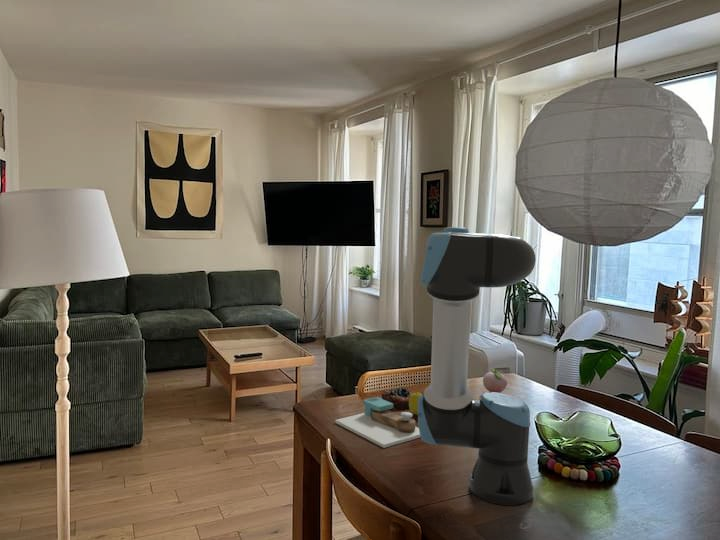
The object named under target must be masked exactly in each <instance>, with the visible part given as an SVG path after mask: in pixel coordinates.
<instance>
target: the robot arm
mask: <svg viewBox="0 0 720 540" xmlns="http://www.w3.org/2000/svg"><path fill="white" fill-rule="evenodd" d="M535 265H536V253H535V251H534V248H533V247H532V245H530V244H529V243H528V242H527V241H526V240H523V238H522V237H519V236H512V235H507V234H500V233H472V232H471V233H470V232H469V229H468V228H467V227H457V226H456V227H453V226H447V227H445V228H444V229H443V232H433V233H430V235H429V236H428V237H427V241H426V247H425V252H424V258H423V265H422V271H421V277H420V284H421V285H423V286H426V293H427V295H428V296H429V297H430V298H432V301H433V302H432V304H433V305H432V329H431V330H432V333H431V334H432V335H431V355H430V356H431V361H430V362H431V364H430V384H429V385H428V386H426V387H425V389H424V392H423V394H422V395H420V396H419V398H418V415H417V425H418V428H419V432H420V436H421V437H420V439H421V441H423V442H424V443H426V444H430V445H436V446H447V447H460V448H469V449H471V448H472V449H478V456H477V460H476V461H475V464H474V466H473V469H472V471H471V474H470V477H469V489H470V491H471V493H472V494H473V495H475V496H476V497H477V498H479V499H481V500H482V501H484V502H488V503H491V504H496V505H501V506H502V505H503V506H519V505H524V504H526V503H528V502H530V501H531V500H532V499H533V497H534V484H533V480H532V477H531V472H530V469H529V466H528V455H529V442H530V441H529V439H530V438H529V437H530V427H531V419H530V418H531V415H530V414H531V411H530V407H529V405H528V404H527V403H526V402H525V401H523V400H522V399H520V398H518V397H515V396H513V395H510V394H507V393H502V392H501V393H497V392H490V391H488V392H487V391H485V392H483V393H482V394H481V396H480V399H479V398H473V394H472V393H473V392H472V390H470V389H469V388H468V387H467V386H468V371H469V370H468V369H469V368H468V367H469V351H470V338H471V336H470V335H471V334H470V333H471V332H470V331H471V319H472V318H471V317H472V302H473V300H475V299H476V298H478V297H479V295H480V288H504V287H509V286H512V285H515V284H518V283H519V282H522V281H523V280H525V279H526V278H527V277H529V276H530V274H532V272H533V271H534V268H535Z"/></svg>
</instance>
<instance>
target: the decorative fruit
mask: <svg viewBox="0 0 720 540" xmlns="http://www.w3.org/2000/svg"><path fill="white" fill-rule="evenodd" d="M498 371H499V370H497V369H496V368H495V369H490V371H489V372H487V373H485V374H484V376H483V378H482V384H483V387H484V389H486V390H487V391H488V392H489V393H490V392H497V393H502V392H504V391H505V389H506V387H507V385H508V379H507V378H506V376H505V375H503V374H502V373H500V372H498Z"/></svg>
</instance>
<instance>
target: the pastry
mask: <svg viewBox="0 0 720 540" xmlns="http://www.w3.org/2000/svg"><path fill="white" fill-rule="evenodd" d="M414 393H415V392H411V391H410V390H407V388H406V387H403V388H401V387H398V388H397V389H396V390H387V391H384V392H382V393H381V399H383V400H385V401H388V402H390V403H393V409H392V410H395V409H399V410H404V409H405V408H406V409H410V408H409V399H410V397H411V395H412V394H414ZM406 409H405V410H406Z"/></svg>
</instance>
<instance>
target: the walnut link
mask: <svg viewBox="0 0 720 540" xmlns="http://www.w3.org/2000/svg"><path fill="white" fill-rule="evenodd" d="M371 419H373V420H375V421H378V422H381V423H383V424H386V425H389V426H391V427H394V428H396V429H397V430H399V431H401V432H413V431H415V426H416V420H415V419H414V418H412V417H411V418H410V420H409V421H404V420H403V417H401V415H399V414H396V413H394V412H390V411H388V410H383V411H377V410H374V411H372V414H371Z"/></svg>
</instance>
